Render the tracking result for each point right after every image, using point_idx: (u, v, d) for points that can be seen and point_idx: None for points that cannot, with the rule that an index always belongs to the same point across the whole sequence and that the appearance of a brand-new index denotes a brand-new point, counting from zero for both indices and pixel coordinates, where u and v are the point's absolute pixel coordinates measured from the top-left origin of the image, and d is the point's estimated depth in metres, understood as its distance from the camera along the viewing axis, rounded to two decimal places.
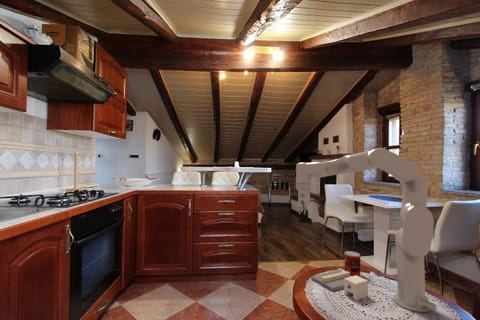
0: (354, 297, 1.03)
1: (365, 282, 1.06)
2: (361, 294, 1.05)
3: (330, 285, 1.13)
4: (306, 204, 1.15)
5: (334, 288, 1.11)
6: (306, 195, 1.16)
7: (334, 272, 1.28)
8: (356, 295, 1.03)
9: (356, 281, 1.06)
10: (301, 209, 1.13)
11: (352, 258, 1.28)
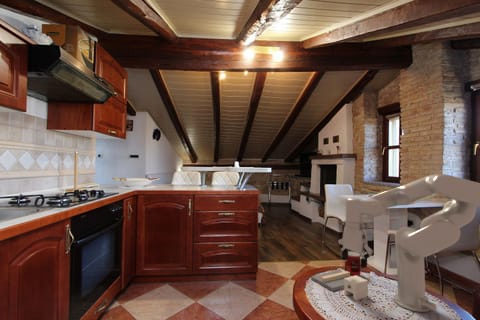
0: (354, 297, 1.03)
1: (365, 282, 1.06)
2: (361, 294, 1.05)
3: (330, 285, 1.13)
4: (367, 246, 1.05)
5: (334, 288, 1.11)
6: (366, 236, 1.06)
7: (334, 272, 1.28)
8: (356, 295, 1.03)
9: (356, 281, 1.06)
10: (370, 254, 1.01)
11: (352, 258, 1.28)
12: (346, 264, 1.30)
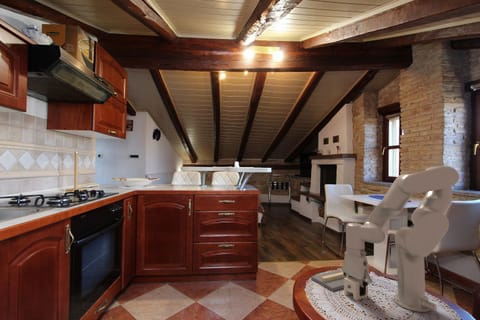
0: (354, 297, 1.03)
1: None
2: None
3: (330, 285, 1.13)
4: (368, 273, 1.04)
5: (334, 288, 1.11)
6: (367, 262, 1.05)
7: (334, 272, 1.28)
8: (356, 295, 1.03)
9: (356, 280, 1.06)
10: (369, 283, 1.02)
11: None
12: None
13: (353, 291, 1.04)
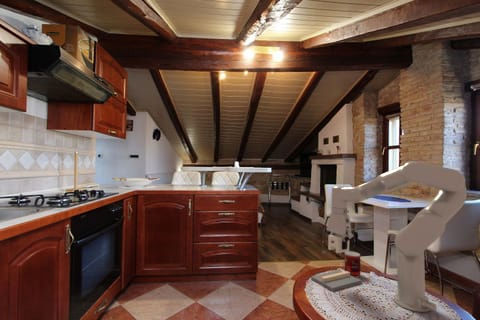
0: (336, 250, 1.15)
1: None
2: None
3: (330, 285, 1.13)
4: (350, 229, 1.16)
5: (334, 288, 1.11)
6: (349, 220, 1.17)
7: (334, 272, 1.28)
8: (338, 248, 1.15)
9: (339, 236, 1.18)
10: (350, 237, 1.13)
11: (352, 258, 1.28)
12: (346, 264, 1.30)
13: (336, 245, 1.16)
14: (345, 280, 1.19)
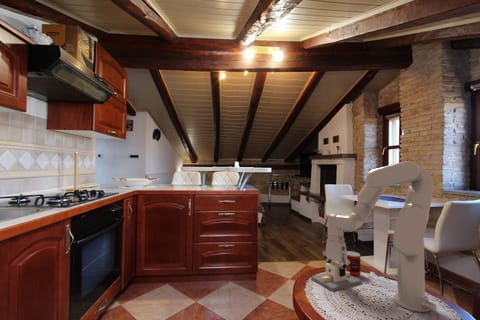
0: (334, 279, 1.17)
1: None
2: (340, 277, 1.18)
3: (330, 285, 1.13)
4: (346, 256, 1.18)
5: (334, 288, 1.11)
6: (345, 247, 1.19)
7: None
8: (335, 277, 1.17)
9: (336, 265, 1.20)
10: (347, 264, 1.15)
11: (352, 258, 1.28)
12: None
13: (333, 274, 1.18)
14: (345, 280, 1.19)
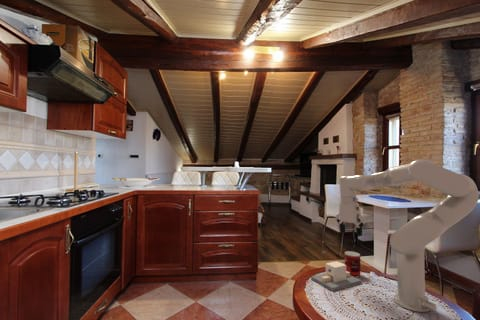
0: (334, 279, 1.17)
1: (344, 266, 1.20)
2: (340, 277, 1.18)
3: (330, 285, 1.13)
4: None
5: (334, 288, 1.11)
6: (359, 208, 1.19)
7: None
8: (335, 277, 1.17)
9: (336, 265, 1.20)
10: (364, 222, 1.14)
11: (352, 258, 1.28)
12: (346, 264, 1.30)
13: (333, 274, 1.18)
14: (345, 280, 1.19)
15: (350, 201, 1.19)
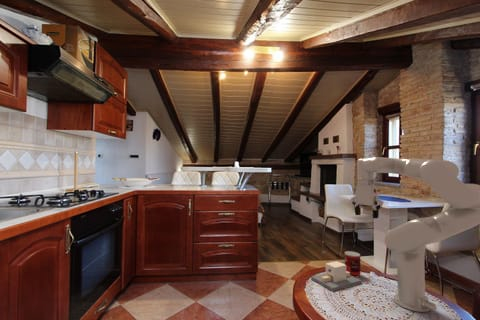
0: (334, 279, 1.17)
1: (344, 266, 1.20)
2: (340, 277, 1.18)
3: (330, 285, 1.13)
4: None
5: (334, 288, 1.11)
6: None
7: None
8: (335, 277, 1.17)
9: (336, 265, 1.20)
10: (381, 205, 1.14)
11: (352, 258, 1.28)
12: (346, 264, 1.30)
13: (333, 274, 1.18)
14: (345, 280, 1.19)
15: (368, 183, 1.18)
